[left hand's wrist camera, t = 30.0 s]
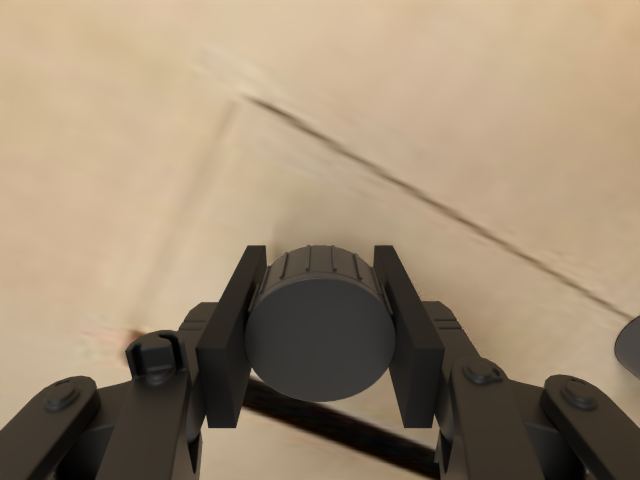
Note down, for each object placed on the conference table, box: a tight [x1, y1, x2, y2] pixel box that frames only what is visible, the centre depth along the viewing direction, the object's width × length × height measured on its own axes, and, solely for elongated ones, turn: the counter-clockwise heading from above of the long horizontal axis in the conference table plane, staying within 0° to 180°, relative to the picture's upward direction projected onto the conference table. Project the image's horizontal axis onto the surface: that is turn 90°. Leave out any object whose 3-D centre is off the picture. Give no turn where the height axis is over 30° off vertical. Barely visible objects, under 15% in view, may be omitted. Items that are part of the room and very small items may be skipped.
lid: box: [244, 245, 396, 402], centre depth 11 cm, size 5×5×2 cm
